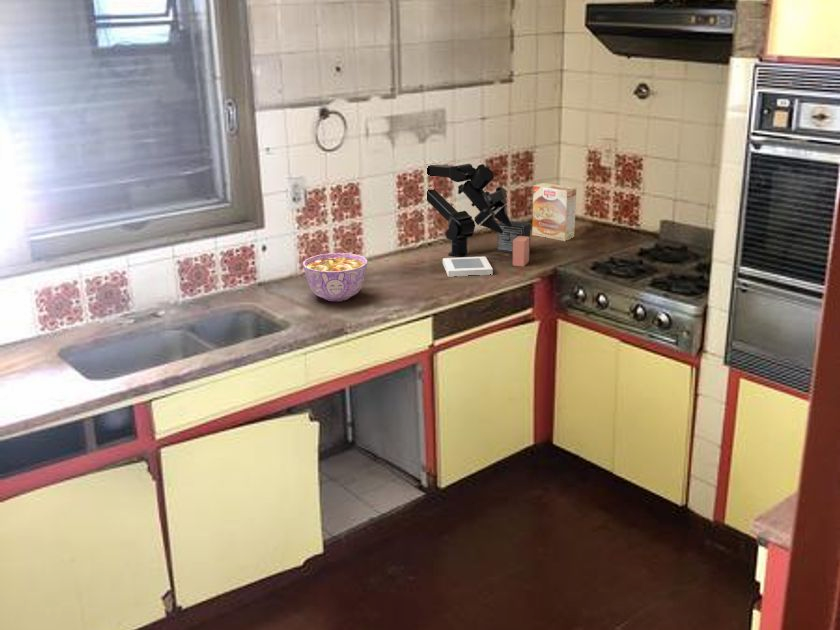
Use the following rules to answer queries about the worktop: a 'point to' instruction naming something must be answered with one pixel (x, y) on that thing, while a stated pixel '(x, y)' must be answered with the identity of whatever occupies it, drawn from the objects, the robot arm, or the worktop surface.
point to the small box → (512, 235)
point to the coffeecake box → (554, 211)
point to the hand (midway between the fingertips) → (506, 229)
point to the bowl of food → (335, 275)
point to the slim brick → (520, 251)
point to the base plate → (467, 266)
